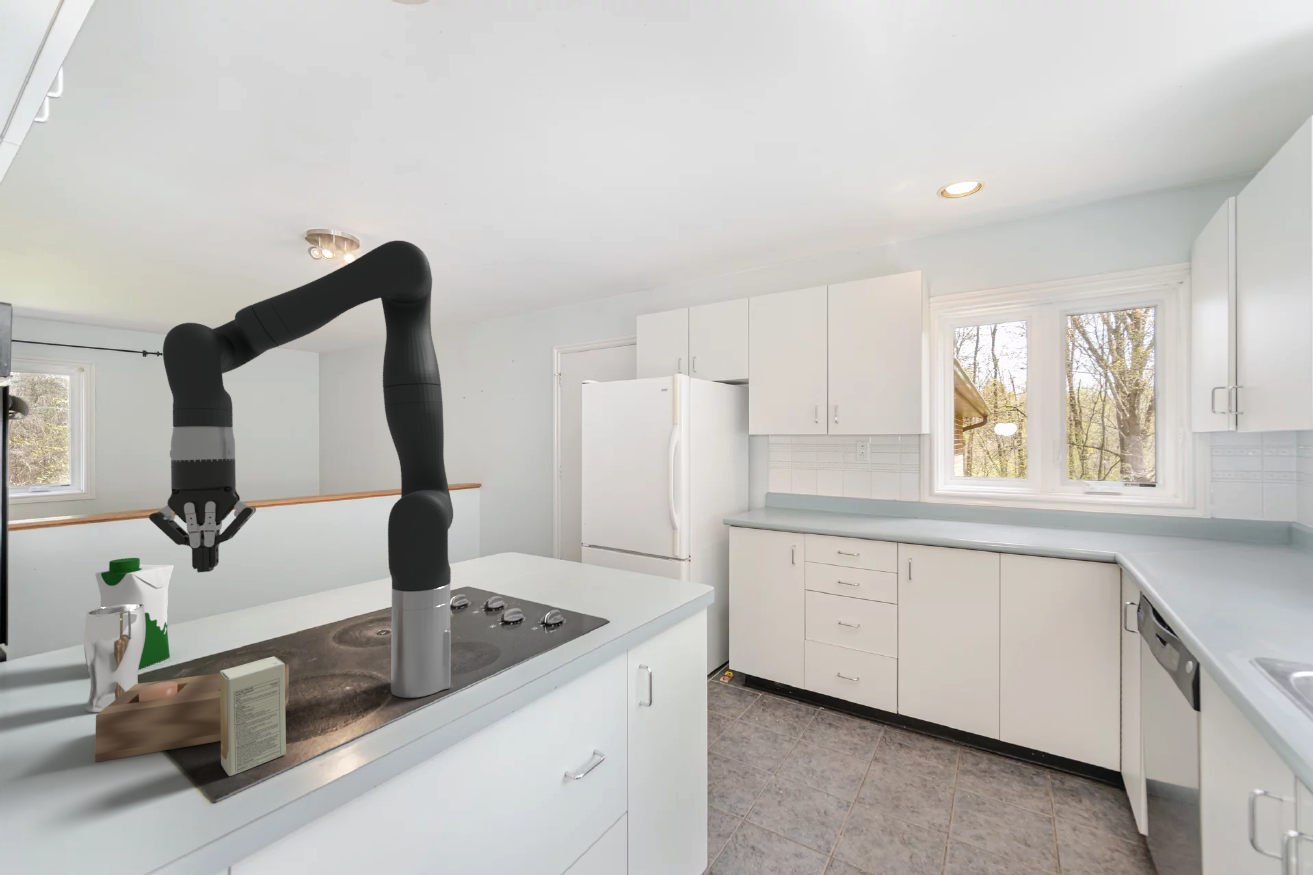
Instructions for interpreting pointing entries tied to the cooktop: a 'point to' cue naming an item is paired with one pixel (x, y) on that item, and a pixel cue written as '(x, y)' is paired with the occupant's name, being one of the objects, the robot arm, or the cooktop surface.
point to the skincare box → (252, 714)
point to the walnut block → (162, 719)
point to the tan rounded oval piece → (158, 691)
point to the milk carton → (141, 600)
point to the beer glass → (113, 651)
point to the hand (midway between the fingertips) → (205, 570)
